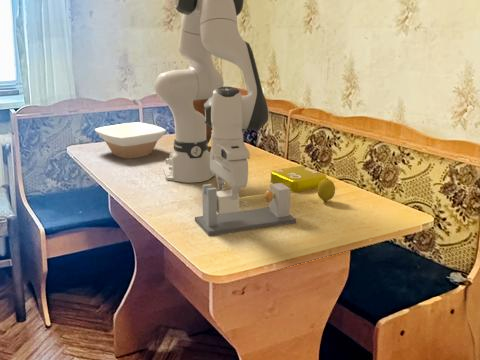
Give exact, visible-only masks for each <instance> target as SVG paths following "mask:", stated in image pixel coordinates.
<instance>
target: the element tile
mask: <svg viewBox="0 0 480 360" xmlns="http://www.w3.org/2000/svg"><path fill="white" fill-rule="evenodd" d="M326 178H327V175H326V174H324V173H322V172H320V171H316V170H314V169H312V168H309V167H307V166H304V165H297V166H292V167H287V168H281V169H280V168H279V169H274V170H272V171H271V172H270V184H276V183H282V184H284V185H285V186H287V187H288V188H290V193H300V192H305V191H310V190H311V189H312V190H317V189H318V185H319V183H320V182H321V181H322V180H324V179H326ZM316 188H317V189H316ZM312 190H311V191H312Z"/></svg>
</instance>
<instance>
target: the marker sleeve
mask: <svg viewBox="0 0 480 360" xmlns="http://www.w3.org/2000/svg"><path fill="white" fill-rule="evenodd" d="M231 190H232V189H225V190H222V191H220V190H216V191H217V200H218V205H217V214H223V213H231V212H238V211H240V203H239V197H240V194H239V193H238V199H237V200H232V199H231V198H230V193H231Z"/></svg>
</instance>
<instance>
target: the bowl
mask: <svg viewBox="0 0 480 360" xmlns="http://www.w3.org/2000/svg"><path fill="white" fill-rule="evenodd" d="M94 131H95V132H96V134H98V135H99V137H100V138H102V139H103V140H104V142H105V143H106V145H107V147H108V148H109V150H110V151H111V153H112V154H113V155H114V154H115V155H114V156H116V155H117V156H116V157H118V156H119V158H122V159H126V160H128V159H129V158H130V159H136V158H140V157H141V156H142V157H146V156H149V154H150V155H151V153H152V152H153V150H154V148H155V146H156V144H157V143H158V142H159V140H160V139H161V138H163V136H164V134H166V133H167V130H166V129H165V128H163V127H161V126H157V125H155V124H151V123H150V124H149V123H145V122H139V121H136V122H135V121H134V122H126V123H125V122H124V123H120V124H119V123H118V124H112V125H105V126H101V127H97V128H94ZM130 159H129V160H130Z"/></svg>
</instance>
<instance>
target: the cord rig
mask: <svg viewBox="0 0 480 360" xmlns="http://www.w3.org/2000/svg"><path fill="white" fill-rule="evenodd" d="M217 191H218V190H217V188H216V187H213V185H212V183H208V184H202V216H201V215H200V216H194V222H195V223H196V224H197V225H198V226H199V227H200V228H201V230H203V231H204V232H205V234H207V235H208V237H209V236H216V235H221V234H228V233H229V234H230V233H236V232H243V231H248V230H250V231H251V230H255V229H256V230H257V229H263V228H268V227H276V226H282V225H289V224H296V223H297V218H296V217H294V216H293V215H291V214H290V206H291V205H290V204H291V202H290V201H291V191H290V188H288V187H287V186H285V185H284V184H282V183H276V184H273V183H270V185H269V190H266V191H265V192H264V194H257V195H249V196H243V197H242V196H241V197H240V196H239V202H245V203H246V202H253V201H260V200H261V201H262V200H265V201H266V202H267V203H268V202H269V206H268V207H261V208H253V209H245V210H239V211H238V212H231V213H223V214H219V213H218V212H217V205H218V200H217Z"/></svg>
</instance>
